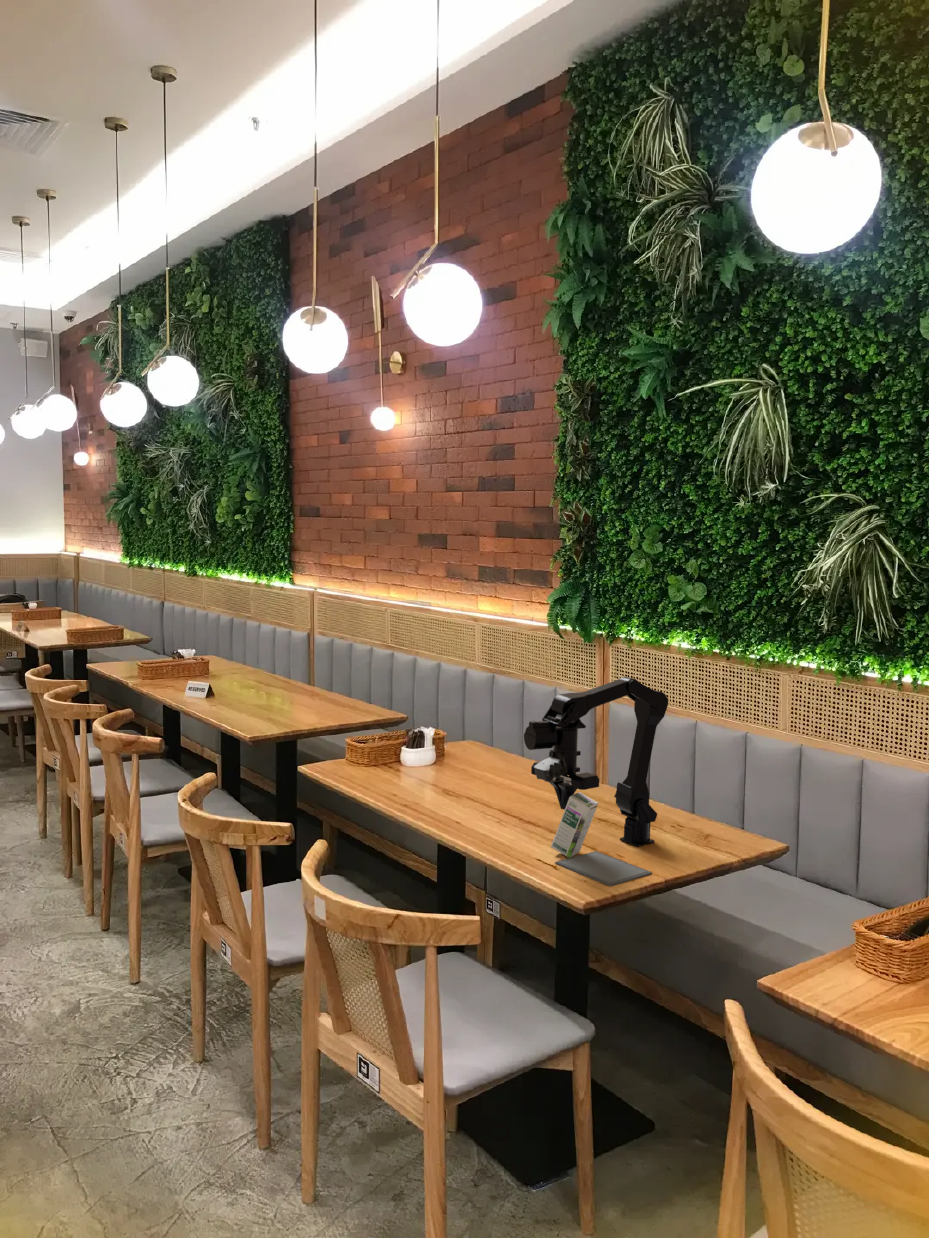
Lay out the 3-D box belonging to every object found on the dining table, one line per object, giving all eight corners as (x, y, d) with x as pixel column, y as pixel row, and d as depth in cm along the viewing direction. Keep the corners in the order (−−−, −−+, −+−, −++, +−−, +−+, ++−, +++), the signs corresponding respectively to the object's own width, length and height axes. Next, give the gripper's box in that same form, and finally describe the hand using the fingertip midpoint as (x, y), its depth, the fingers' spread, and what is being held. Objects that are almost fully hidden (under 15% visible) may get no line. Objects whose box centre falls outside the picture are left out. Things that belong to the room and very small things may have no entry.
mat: (596, 852, 237) (596, 850, 237) (651, 873, 223) (652, 871, 223) (554, 863, 228) (554, 861, 228) (610, 886, 214) (610, 884, 214)
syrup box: (549, 847, 235) (569, 795, 231) (561, 840, 240) (580, 790, 236) (569, 859, 232) (589, 807, 228) (580, 852, 237) (599, 801, 233)
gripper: (515, 743, 237) (513, 804, 238) (568, 758, 222) (565, 824, 223) (548, 738, 243) (547, 798, 245) (601, 752, 229) (599, 816, 230)
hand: (563, 808), depth 236 cm, fingers closed
